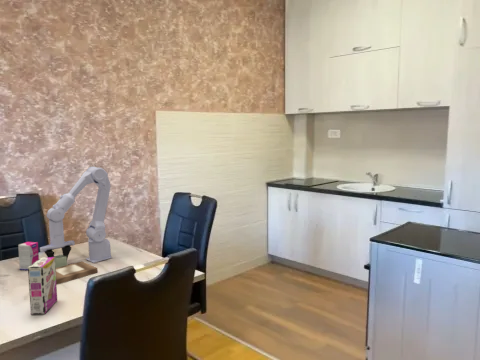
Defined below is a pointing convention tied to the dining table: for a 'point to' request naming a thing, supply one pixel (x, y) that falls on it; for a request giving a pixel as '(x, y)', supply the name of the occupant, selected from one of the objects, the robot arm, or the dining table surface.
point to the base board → (74, 271)
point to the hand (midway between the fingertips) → (59, 264)
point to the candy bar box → (42, 285)
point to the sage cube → (60, 261)
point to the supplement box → (28, 254)
